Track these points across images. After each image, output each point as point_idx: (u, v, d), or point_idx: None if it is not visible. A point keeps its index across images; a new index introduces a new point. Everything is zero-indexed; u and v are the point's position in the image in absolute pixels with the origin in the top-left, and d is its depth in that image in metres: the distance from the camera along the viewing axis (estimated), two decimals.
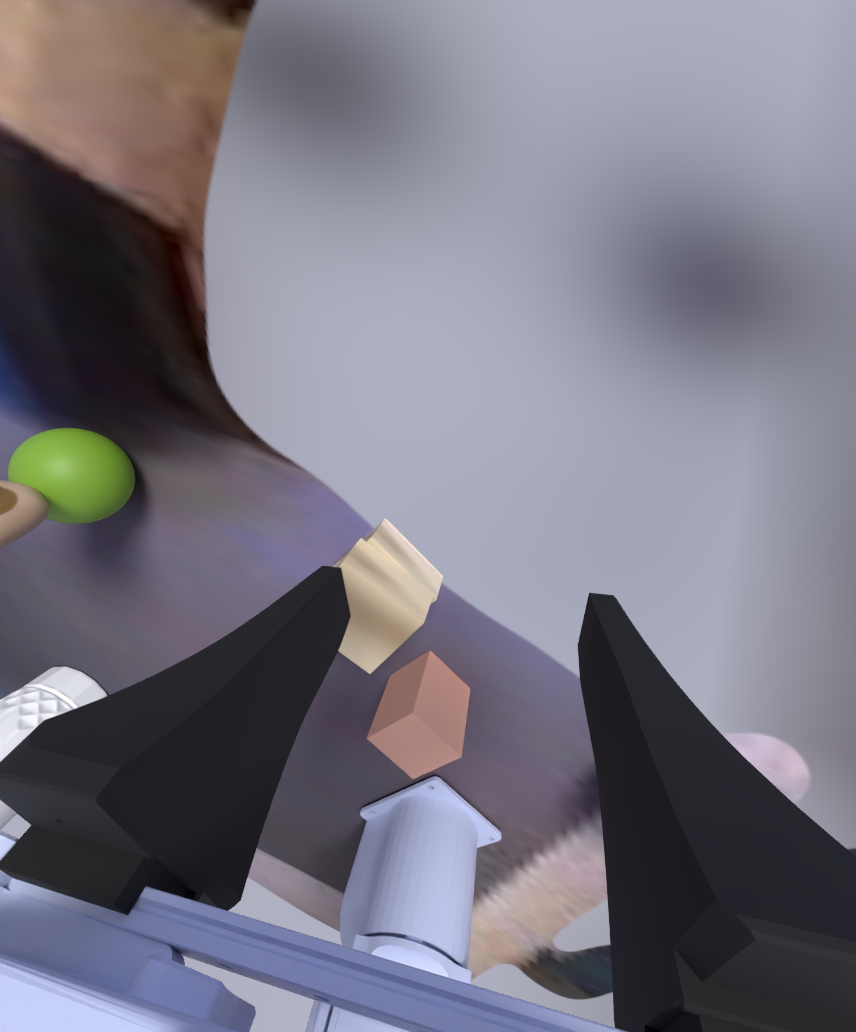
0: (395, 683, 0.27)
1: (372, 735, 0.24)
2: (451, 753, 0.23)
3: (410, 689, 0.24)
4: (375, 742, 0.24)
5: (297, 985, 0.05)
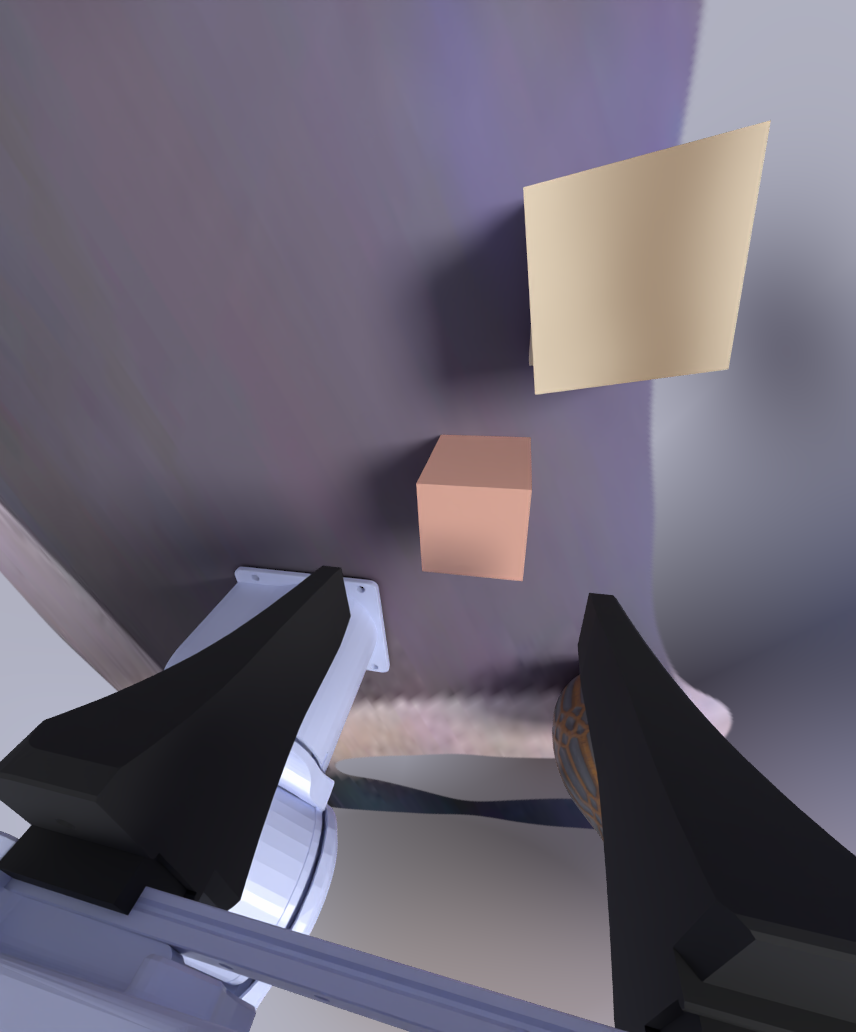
0: (460, 446, 0.17)
1: (430, 485, 0.14)
2: (515, 570, 0.15)
3: (507, 463, 0.15)
4: (423, 497, 0.15)
5: (297, 985, 0.05)
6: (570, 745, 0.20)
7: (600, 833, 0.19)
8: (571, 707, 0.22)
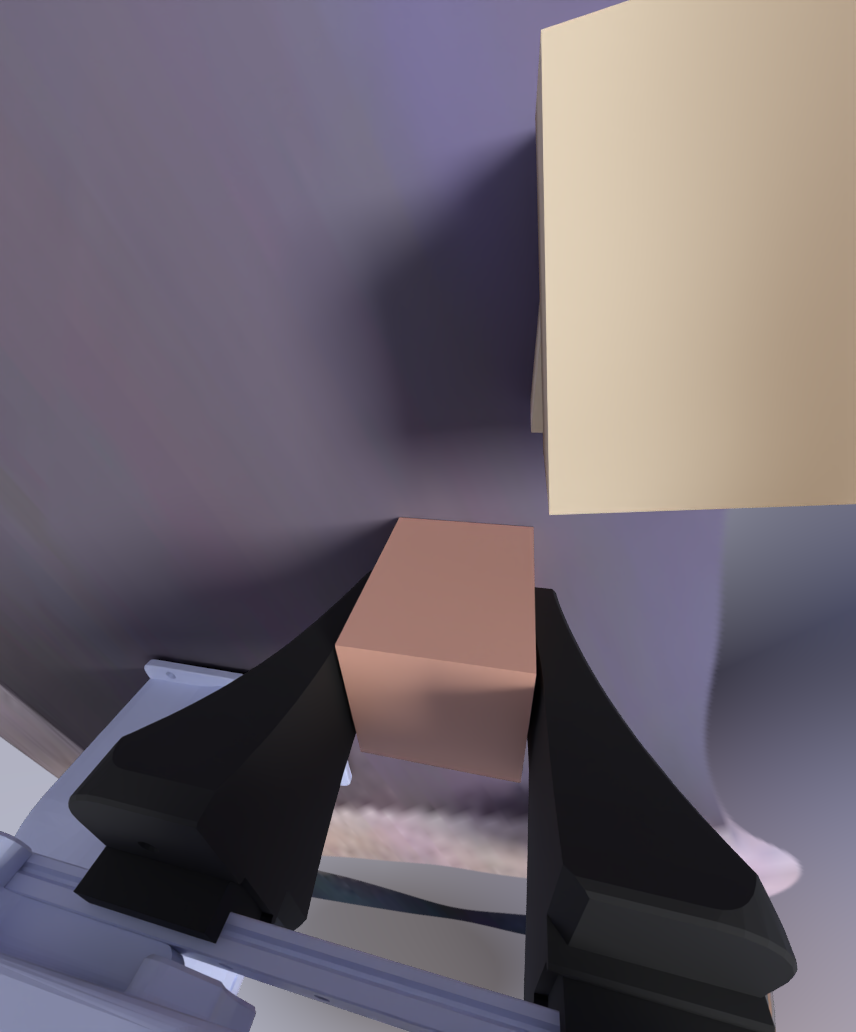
0: (425, 546, 0.11)
1: (358, 649, 0.08)
2: (508, 769, 0.09)
3: (495, 591, 0.09)
4: (349, 663, 0.08)
5: (297, 985, 0.05)
6: None
7: None
8: None
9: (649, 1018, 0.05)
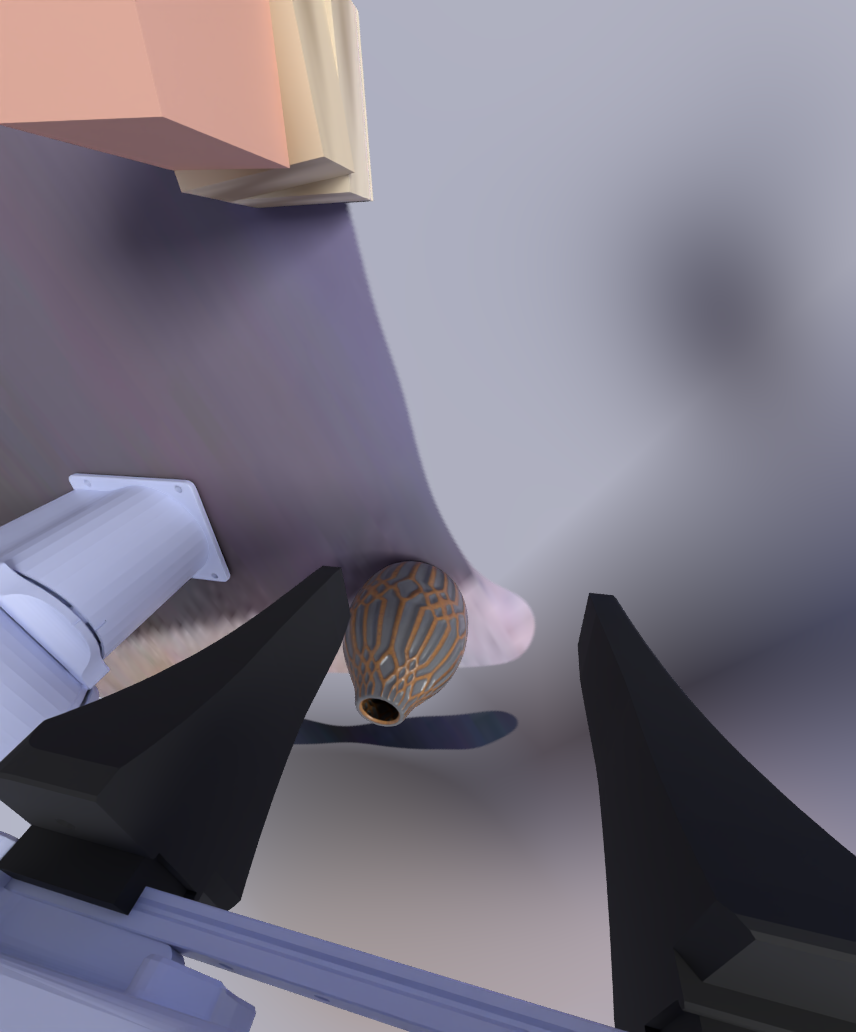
0: None
1: None
2: (138, 79, 0.07)
3: None
4: None
5: (297, 985, 0.05)
6: None
7: None
8: (359, 591, 0.23)
9: None
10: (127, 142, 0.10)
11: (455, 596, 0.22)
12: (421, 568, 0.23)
